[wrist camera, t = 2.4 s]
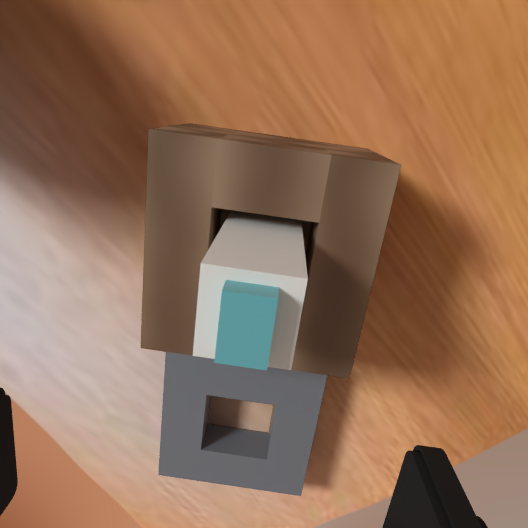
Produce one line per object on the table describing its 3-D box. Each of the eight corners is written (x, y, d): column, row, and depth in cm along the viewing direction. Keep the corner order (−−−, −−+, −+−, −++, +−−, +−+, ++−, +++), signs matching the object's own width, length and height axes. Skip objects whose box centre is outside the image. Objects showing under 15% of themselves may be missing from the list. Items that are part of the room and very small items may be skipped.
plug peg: (300, 215, 25) (309, 289, 15) (290, 277, 26) (291, 385, 16) (233, 205, 25) (194, 273, 15) (226, 268, 26) (186, 370, 16)
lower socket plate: (324, 353, 34) (327, 375, 31) (299, 467, 38) (300, 495, 35) (176, 331, 34) (165, 351, 31) (168, 447, 38) (158, 474, 35)
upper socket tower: (367, 148, 28) (401, 165, 20) (333, 308, 32) (349, 378, 24) (190, 123, 28) (148, 128, 20) (179, 286, 32) (140, 347, 24)
